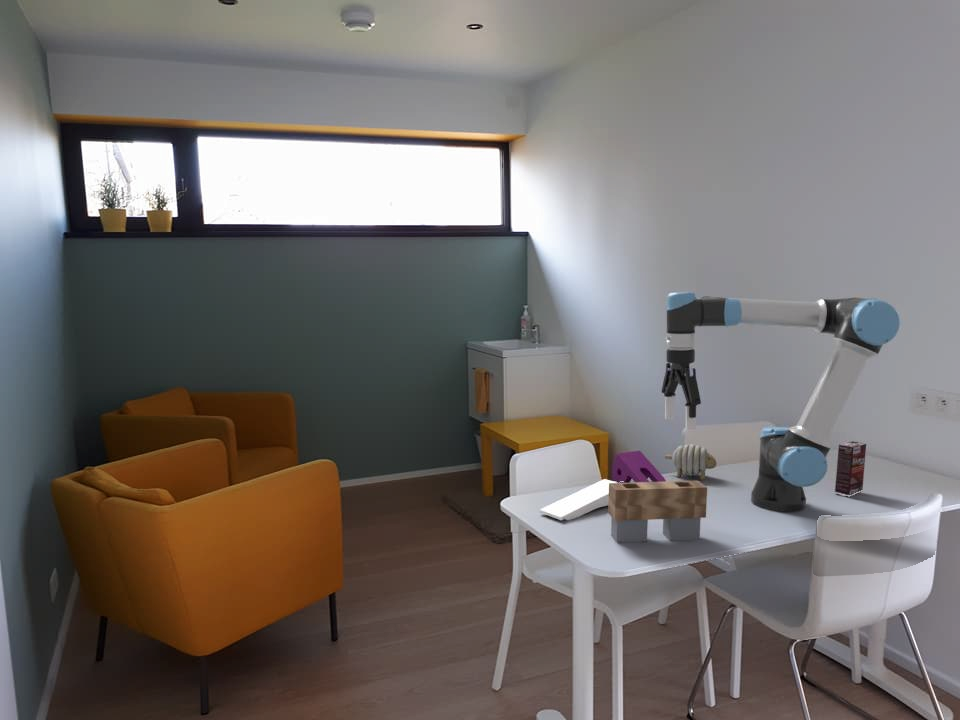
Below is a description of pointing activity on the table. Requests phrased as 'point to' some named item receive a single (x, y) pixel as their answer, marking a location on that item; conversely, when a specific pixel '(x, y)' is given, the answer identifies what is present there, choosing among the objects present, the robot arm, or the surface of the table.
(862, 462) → the supplement box
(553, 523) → the table surface
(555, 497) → the table surface
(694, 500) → the walnut rail
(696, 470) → the toy sheep
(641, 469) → the mounting bracket
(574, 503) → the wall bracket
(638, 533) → the peg blocks
